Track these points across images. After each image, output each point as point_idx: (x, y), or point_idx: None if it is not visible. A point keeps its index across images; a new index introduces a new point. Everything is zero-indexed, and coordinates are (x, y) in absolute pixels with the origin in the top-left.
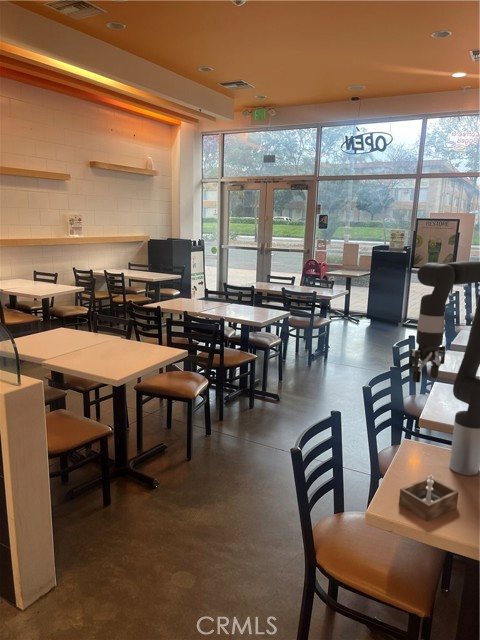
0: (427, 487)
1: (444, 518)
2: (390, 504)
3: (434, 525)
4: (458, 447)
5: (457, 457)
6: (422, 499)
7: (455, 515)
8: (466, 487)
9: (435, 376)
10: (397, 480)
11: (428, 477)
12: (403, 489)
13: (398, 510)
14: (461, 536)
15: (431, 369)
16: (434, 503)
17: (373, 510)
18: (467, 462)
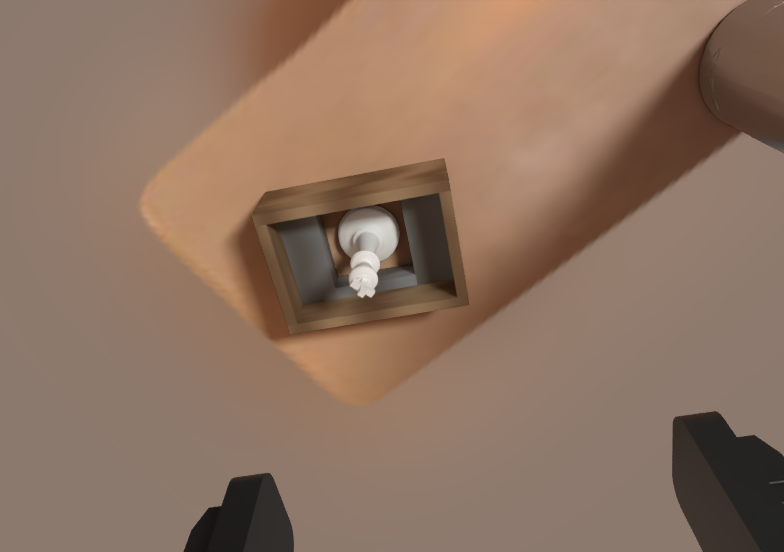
0: (357, 262)
1: None
2: (231, 184)
3: None
4: (768, 101)
5: (736, 90)
6: (360, 217)
7: None
8: (621, 188)
9: (686, 505)
10: (374, 38)
11: (351, 286)
12: (262, 223)
13: (239, 223)
14: (352, 381)
15: (737, 525)
16: (321, 328)
17: (145, 194)
18: (746, 132)
